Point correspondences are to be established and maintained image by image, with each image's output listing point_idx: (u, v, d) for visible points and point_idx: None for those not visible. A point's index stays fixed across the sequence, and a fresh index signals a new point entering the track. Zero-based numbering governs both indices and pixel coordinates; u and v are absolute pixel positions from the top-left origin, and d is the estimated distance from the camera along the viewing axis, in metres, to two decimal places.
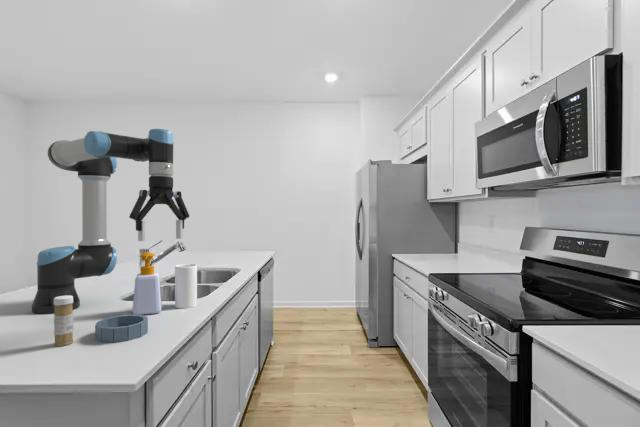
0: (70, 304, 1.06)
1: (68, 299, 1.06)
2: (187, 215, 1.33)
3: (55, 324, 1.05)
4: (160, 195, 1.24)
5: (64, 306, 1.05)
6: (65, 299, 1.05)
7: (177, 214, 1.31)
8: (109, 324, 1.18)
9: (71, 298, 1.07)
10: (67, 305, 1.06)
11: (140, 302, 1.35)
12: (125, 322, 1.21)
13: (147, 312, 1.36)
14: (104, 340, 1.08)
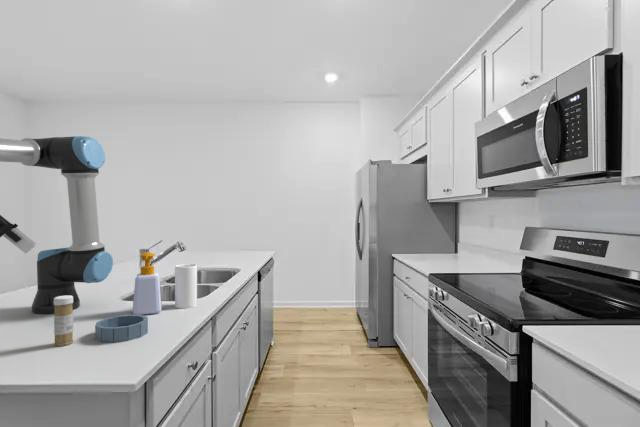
0: (70, 304, 1.06)
1: (68, 299, 1.06)
2: None
3: (55, 324, 1.05)
4: None
5: (64, 306, 1.05)
6: (65, 299, 1.05)
7: None
8: (109, 324, 1.18)
9: (71, 298, 1.07)
10: (67, 305, 1.06)
11: (140, 302, 1.35)
12: (125, 322, 1.21)
13: (147, 312, 1.36)
14: (104, 340, 1.08)
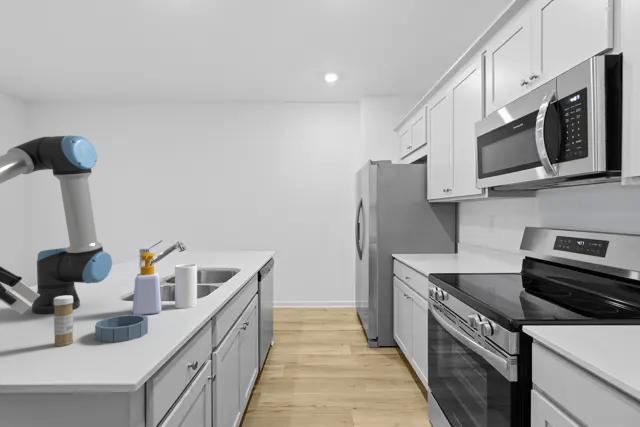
0: (70, 304, 1.06)
1: (68, 299, 1.06)
2: None
3: (55, 324, 1.05)
4: None
5: (64, 306, 1.05)
6: (65, 299, 1.05)
7: None
8: (109, 324, 1.18)
9: (71, 298, 1.07)
10: (67, 305, 1.06)
11: (140, 302, 1.35)
12: (125, 322, 1.21)
13: (147, 312, 1.36)
14: (104, 340, 1.08)
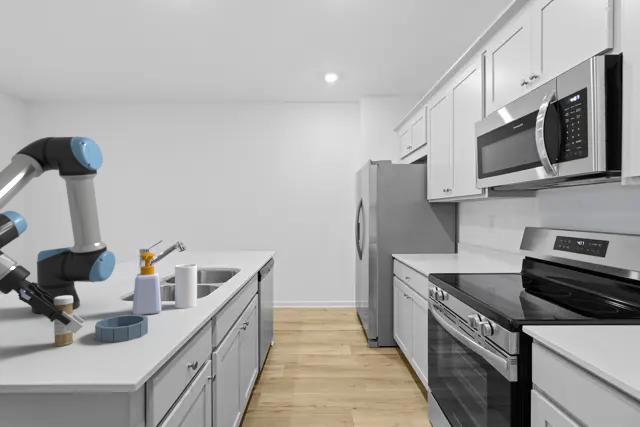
0: (70, 304, 1.06)
1: (68, 299, 1.06)
2: None
3: (55, 324, 1.05)
4: None
5: (64, 306, 1.05)
6: (65, 299, 1.05)
7: None
8: (109, 324, 1.18)
9: (71, 298, 1.07)
10: (67, 305, 1.06)
11: (140, 302, 1.35)
12: (125, 322, 1.21)
13: (147, 312, 1.36)
14: (104, 340, 1.08)
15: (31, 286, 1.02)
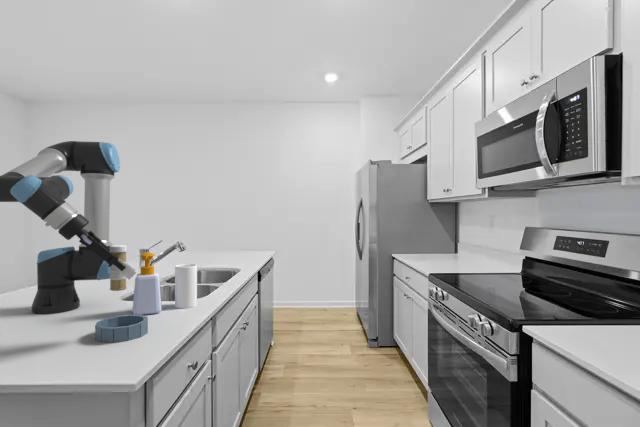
0: (124, 252, 1.14)
1: (123, 247, 1.13)
2: None
3: (111, 270, 1.12)
4: None
5: (119, 253, 1.12)
6: (120, 247, 1.12)
7: None
8: (109, 324, 1.18)
9: (125, 247, 1.14)
10: (122, 253, 1.13)
11: (140, 302, 1.35)
12: (125, 322, 1.21)
13: (147, 312, 1.36)
14: (104, 340, 1.08)
15: (90, 233, 1.09)
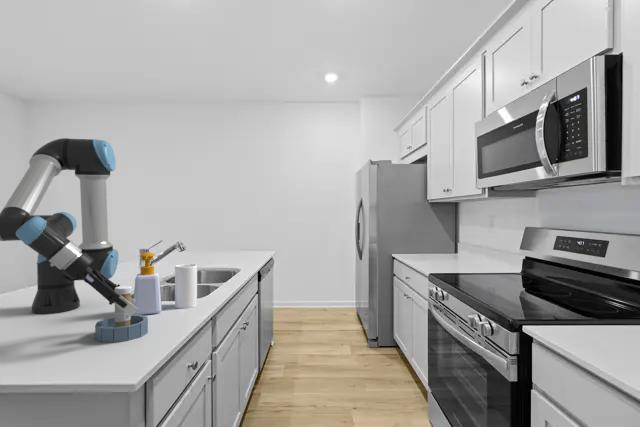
0: (129, 294, 1.15)
1: (128, 289, 1.14)
2: None
3: (116, 312, 1.13)
4: None
5: (124, 295, 1.14)
6: (125, 289, 1.14)
7: None
8: (109, 324, 1.18)
9: (130, 288, 1.15)
10: (127, 295, 1.14)
11: (140, 302, 1.35)
12: None
13: (147, 312, 1.36)
14: (104, 340, 1.08)
15: (94, 271, 1.10)
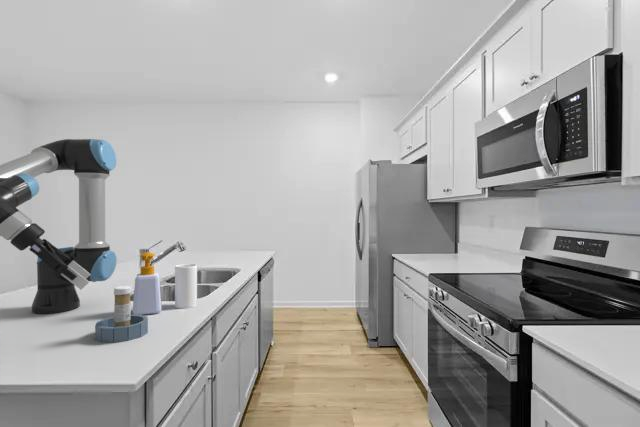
0: (129, 294, 1.15)
1: (127, 289, 1.14)
2: None
3: (115, 312, 1.13)
4: None
5: (123, 295, 1.13)
6: (125, 289, 1.14)
7: None
8: (109, 324, 1.18)
9: (129, 288, 1.15)
10: (126, 295, 1.14)
11: (140, 302, 1.35)
12: None
13: (147, 312, 1.36)
14: (104, 340, 1.08)
15: (45, 243, 1.04)
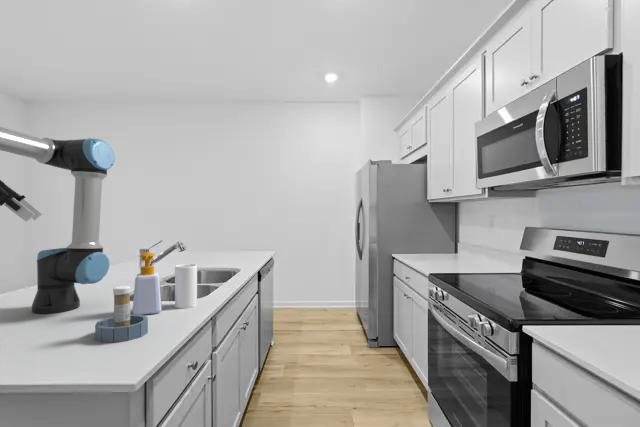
0: (128, 294, 1.15)
1: (126, 289, 1.14)
2: None
3: (115, 312, 1.13)
4: None
5: (123, 295, 1.13)
6: (124, 289, 1.14)
7: None
8: (109, 324, 1.18)
9: (129, 288, 1.15)
10: (126, 295, 1.14)
11: (140, 302, 1.35)
12: None
13: (147, 312, 1.36)
14: (104, 340, 1.08)
15: None
